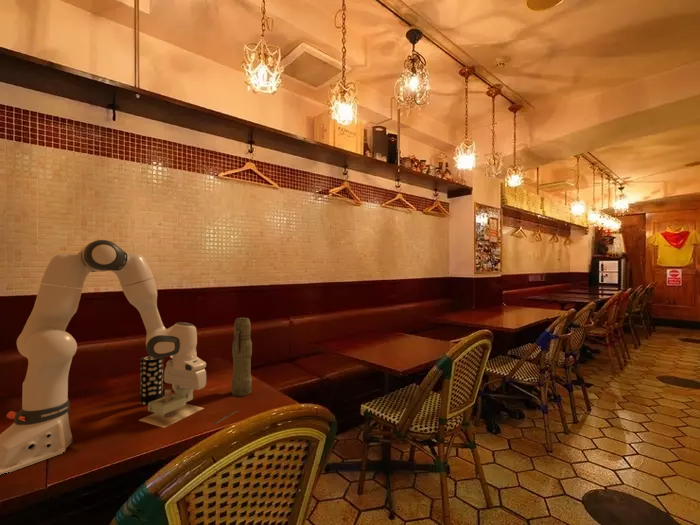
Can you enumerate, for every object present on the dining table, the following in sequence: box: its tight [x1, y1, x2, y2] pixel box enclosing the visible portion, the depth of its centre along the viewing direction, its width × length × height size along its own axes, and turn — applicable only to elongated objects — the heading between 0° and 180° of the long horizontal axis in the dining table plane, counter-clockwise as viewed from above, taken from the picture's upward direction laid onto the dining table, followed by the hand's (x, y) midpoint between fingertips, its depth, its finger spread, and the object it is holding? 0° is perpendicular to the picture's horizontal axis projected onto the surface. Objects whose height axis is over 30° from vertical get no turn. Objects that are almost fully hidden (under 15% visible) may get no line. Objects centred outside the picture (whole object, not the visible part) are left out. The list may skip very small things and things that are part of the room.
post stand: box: [138, 388, 205, 429], centre depth 132 cm, size 18×14×12 cm
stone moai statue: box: [231, 316, 253, 398], centre depth 158 cm, size 9×12×35 cm
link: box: [147, 387, 194, 415], centre depth 132 cm, size 15×8×5 cm, turn 156°
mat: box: [212, 409, 238, 425], centre depth 135 cm, size 12×10×1 cm
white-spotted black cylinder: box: [139, 355, 164, 406], centre depth 144 cm, size 8×8×20 cm
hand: (184, 396), depth 137 cm, fingers closed on link, 4 cm apart
